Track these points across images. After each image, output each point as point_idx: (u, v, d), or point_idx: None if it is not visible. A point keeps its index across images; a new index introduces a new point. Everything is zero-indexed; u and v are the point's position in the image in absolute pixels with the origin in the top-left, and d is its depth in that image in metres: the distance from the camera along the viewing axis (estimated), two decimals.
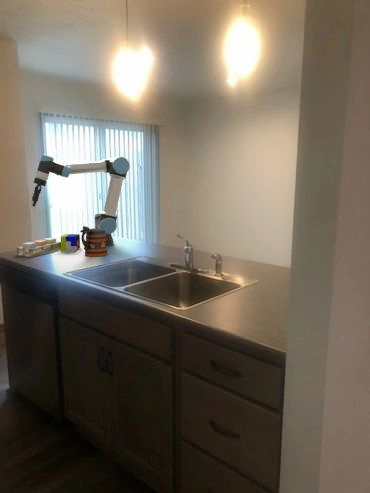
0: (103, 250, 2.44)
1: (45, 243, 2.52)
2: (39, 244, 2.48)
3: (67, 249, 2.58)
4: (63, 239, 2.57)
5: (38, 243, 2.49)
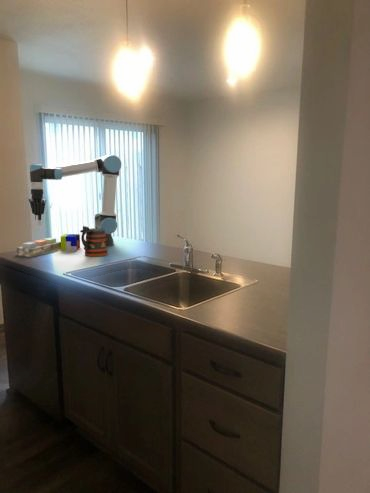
0: (103, 250, 2.44)
1: (45, 243, 2.52)
2: (39, 244, 2.48)
3: (67, 249, 2.58)
4: (63, 239, 2.57)
5: (38, 243, 2.49)
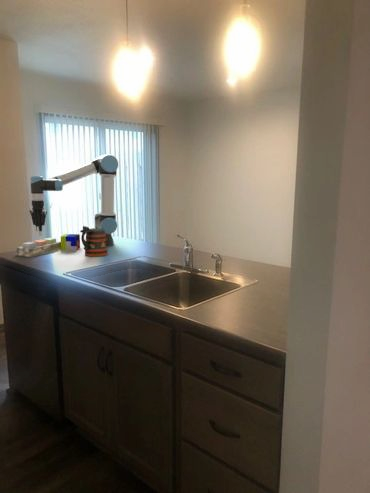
0: (103, 250, 2.44)
1: (45, 243, 2.52)
2: (39, 244, 2.48)
3: (67, 249, 2.58)
4: (63, 239, 2.57)
5: (38, 243, 2.49)
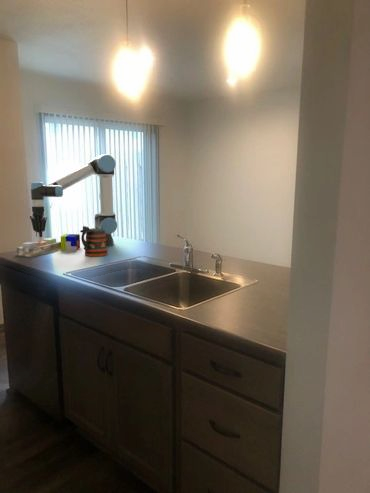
0: (103, 250, 2.44)
1: (45, 244, 2.53)
2: (39, 245, 2.48)
3: (67, 249, 2.58)
4: (63, 239, 2.57)
5: (38, 244, 2.49)
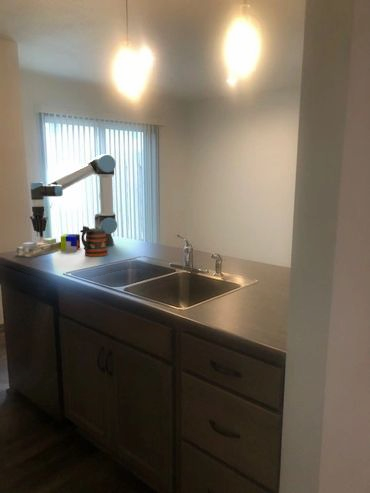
0: (103, 250, 2.44)
1: None
2: None
3: (67, 249, 2.58)
4: (63, 239, 2.57)
5: None
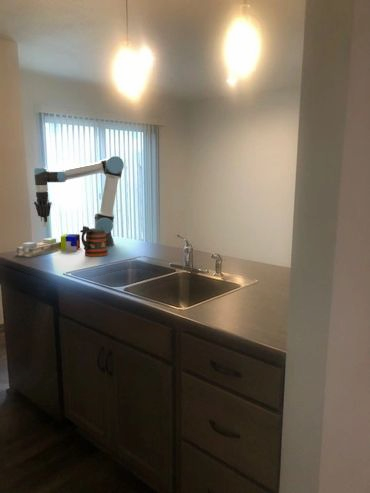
0: (103, 250, 2.44)
1: None
2: None
3: (67, 249, 2.58)
4: (63, 239, 2.57)
5: None
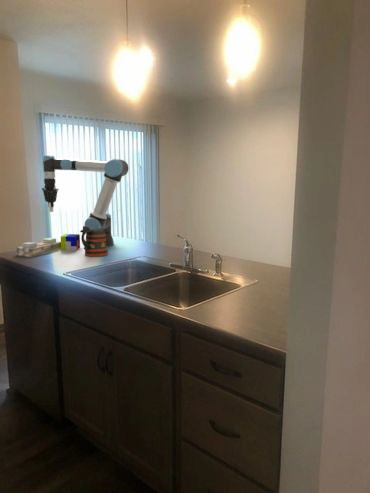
0: (103, 250, 2.44)
1: None
2: None
3: (67, 249, 2.58)
4: (63, 239, 2.57)
5: None
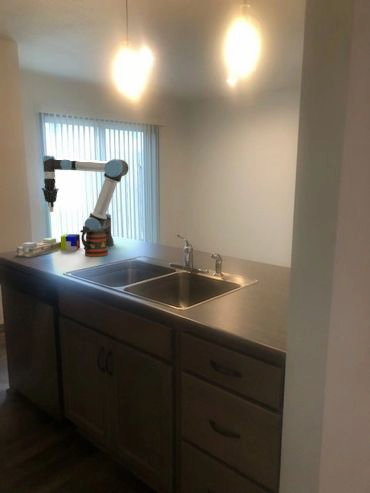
0: (103, 250, 2.44)
1: None
2: None
3: (67, 249, 2.58)
4: (63, 239, 2.57)
5: None
